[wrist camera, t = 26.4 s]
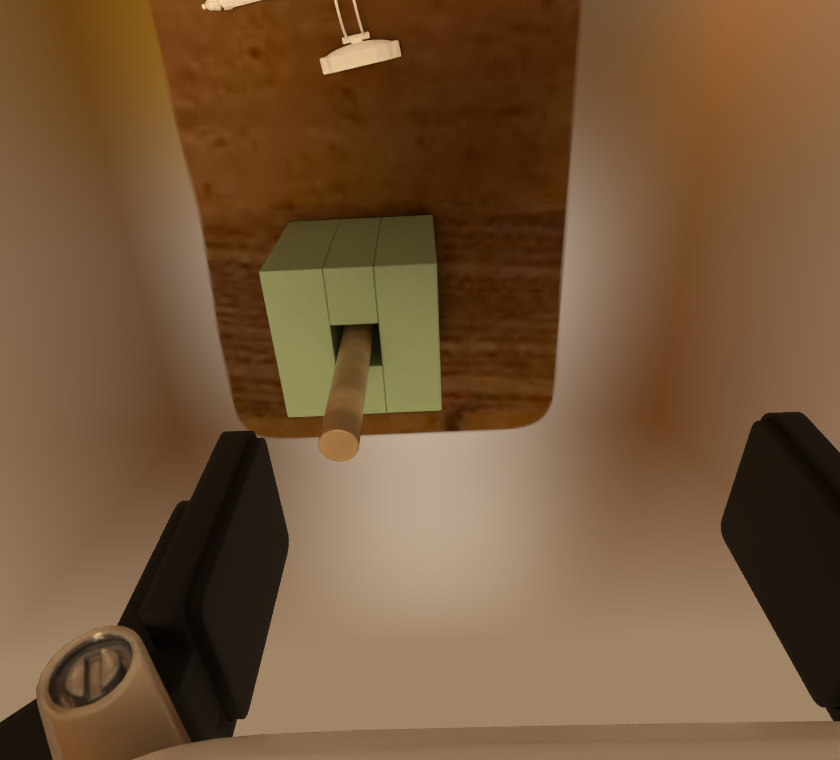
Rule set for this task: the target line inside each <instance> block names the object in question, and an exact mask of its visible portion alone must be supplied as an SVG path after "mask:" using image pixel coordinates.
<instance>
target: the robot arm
mask: <svg viewBox="0 0 840 760" xmlns="http://www.w3.org/2000/svg"><path fill="white" fill-rule="evenodd" d="M721 532H722V536H723V539H724V541H725V543H726V544H727V546H728V548H729V550H730V552H731V553H732V555H733V557H734V559H735V561H736V562H737V564H738V566H739V568H740V570H741V571H742V573H743V575H744V577H745V579H746V580H747V582H748V584H749V586H750V588H751V589H752V591H753V593H754V595H755V597H756V598H757V600H758V602H759V604H760V606H761V607H762V609H763V611H764V613H765V614H766V616H767V618H768V620H769V621H770V623H771V625H772V627H773V629H774V631H775V632H776V634H777V636H778V637H779V639H780V641H781V643H782V645H783V647H784V649H785V650H786V652H787V654H788V656H789V657H790V659H791V661H792V663H793V665H794V666H795V668H796V670H797V672H798V674H799V675H800V677H801V679H802V681H803V683H804V684H805V686H806V688H807V690H808V692H809V693H810V695H811V697H812V698H813V700H814V701H815V702H816V703H817V704H818V705H819V706H821V707H826V709H827V711H828V712H829V714H830V716H831V718H832V719H833V721H822V722H821V721H820V722H748V723H686V724H685V723H680V724H679V723H678V724H677V723H676V724H624V725H623V724H622V725H572V726H571V725H570V726H523V727H522V726H520V727H478V728H477V727H475V728H436V729H396V730H355V731H354V730H353V731H331V732H307V733H283V734H261V735H250V736H239V737H233V733H234V729H235V725H236V721H237V719H244V718H245V717H246V716H247V714H248V711H249V708H250V704H251V700H252V696H253V691H254V687H255V683H256V679H257V675H258V671H259V667H260V663H261V659H262V655H263V651H264V647H265V643H266V638H267V635H268V630H269V626H270V622H271V618H272V614H273V610H274V606H275V602H276V598H277V594H278V590H279V586H280V582H281V577H282V573H283V569H284V565H285V561H286V557H287V553H288V545H289V538H288V532H287V527H286V523H285V518H284V514H283V510H282V506H281V502H280V498H279V494H278V489H277V486H276V481H275V477H274V473H273V468H272V465H271V460H270V456H269V452H268V448H267V444H266V440H265V439H264V438H257V437H256V434H255V433H254V431H230V432H223V433H222V434H221V435H220V437H219V440H218V442H217V444H216V446H215V448H214V450H213V452H212V454H211V456H210V459H209V461H208V463H207V465H206V467H205V469H204V472H203V474H202V476H201V478H200V480H199V482H198V484H197V487H196V489H195V491H194V493H193V495H192V497H191V500H189V501H182V502H180V503H178V504H177V506H176V507H175V509H174V511H173V513H172V515H171V517H170V519H169V521H168V523H167V525H166V527H165V529H164V531H163V533H162V535H161V537H160V540H159V541H158V543H157V545H156V547H155V549H154V551H153V553H152V555H151V558H150V559H149V562H148V564H147V566H146V568H145V570H144V572H143V574H142V576H141V578H140V580H139V582H138V584H137V586H136V588H135V590H134V592H133V594H132V596H131V598H130V600H129V603H128V604H127V607H126V609H125V610H124V613H123V615H122V617H121V619H120V621H119V623H118V625H117V626H114V625H109V626H104V627H100V628H95V629H92V630H90V631H88V632H86V633H84V634H81V635H80V636H77V637H76V638H75V639H73V640H72V641H70V642H69V643H67V644H66V645H64V646H63V647H62V648H61V649H60V650H59V651H58V652H57V653H56V654H55V655H54V656H53V657H52V658H51V659H50V661H49V662H48V664H47V665H46V667H45V669H44V670H43V672H42V673H41V675H40V679H39V681H38V684H37V688H36V697H37V698H36V699H35V700H33V701H32V702H30V703H29V704H27V705H26V706H24V707H23V708H21V709H20V710H18V711H17V712H15V713H14V714H12V715H11V716H9V717H8V718H6V719H5V720H3V721H2V722H0V760H840V453H839V451H838V450H837V449H836V448H835V447H834V446H833V445H832V444H831V443H830V442H829V441H828V439H827V438H826V437H825V436H824V435H823V434H822V433H821V432H820V431H819V430H818V429H817V428H816V426H815V425H814V424H813V423H812V422H811V421H810V420H809V419H808V418H807V417H806V416H805V415H804V414H802V413H800V412H783V413H767V414H765V415H764V416H763V417H762V418H761V420H760V421H757V422H755V423H754V424H753V426H752V428H751V431H750V434H749V437H748V440H747V443H746V446H745V449H744V452H743V456H742V458H741V462H740V465H739V468H738V471H737V474H736V477H735V480H734V483H733V486H732V489H731V493H730V496H729V499H728V502H727V505H726V508H725V511H724V514H723V517H722V521H721Z"/></svg>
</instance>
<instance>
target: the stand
mask: <svg viewBox="0 0 840 760" xmlns="http://www.w3.org/2000/svg"><path fill="white" fill-rule="evenodd" d="M259 275H260V280H261V285H262V290H263V295H264V300H265V305H266V310H267V315H268V320H269V325H270V330H271V335H272V340H273V345H274V350H275V355H276V360H277V365H278V370H279V375H280V380H281V385H282V390H283V395H284V399H285V404H286V409H287V414H288V417H304V416H324V414H325V410H326V405H327V401H328V396H329V392H330V387H331V383H332V379H333V374H334V370H335V365H336V361H337V356H338V352H339V347H340V343H341V338H342V334H343V330H344V325H352V324H373V323H375V325H374V333H373V341H372V348H371V356H370V364H369V372H368V380H367V388H366V396H365V403H364V411H363V414H369V413H386V412H388V413H389V412H412V411H435V410H441V409H442V401H441V370H440V340H439V310H438V280H437V259H436V249H435V238H434V227H433V217H432V215H419V216H399V217H382V218H380V217H377V218H357V219H341V220H340V219H334V220H314V221H293V222H289V223H288V225H287V227H286V228H285V230H284V231H283V233H282V235H281V236H280V238H279V240H278V241H277V243H276V245H275V246H274V248H273V250H272V251H271V253H270V255H269V256H268V258H267V259H266V261H265V263H264V264H263V266H262V268H261V269H260V271H259Z"/></svg>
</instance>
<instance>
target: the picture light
mask: <svg viewBox="0 0 840 760" xmlns="http://www.w3.org/2000/svg"><path fill="white" fill-rule="evenodd" d="M257 1H261V0H207V1H206V2H205V4H202V8H203V9H206V8H207V9H208V10H212V11H214V10H217V11H220V10H222V6H223V8H224V10H230V9H233V7H237V6H241V5H245V4H249V3H253V2H257ZM334 2H335V6H336V10H337V14H338V18H339V21H340V25H341V28H342V31H343V34H344V36H345V37H343V38H342V42H343V44H348V43H352V44H350V45H347V46H344V47H342V48H339V49H337V50H335V51H333V52H332V53H330V54H329V55H327V56H326V57H323V58H320V63H321V67H322V71H323V74H324V75H325V74H329V73H335V72H339V71H343V70H347V69H351V68H355V67H360V66H364V65H368V64H372V63H376V62H381V61H385V60H390V59H393V58H397V57H400V56H401V51H400V46H399V41H398V40H394V41H389V40H368V41H362V40H364V39H368V38H370V34H369V32H368V31H367V32H364V31H363V28H362V25H361V21H360V18H359V14H358V10H357V5H356V1H355V0H353V4H354V8H355V12H356V16H357V20H358V24H359V27H360V30H361V34H360V33H359V34H355V35H351V36H347V34H346V32H345V29H344V26H343V22H342V19H341V15H340V11H339V7H338V3H337V0H334Z"/></svg>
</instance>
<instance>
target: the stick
mask: <svg viewBox="0 0 840 760" xmlns="http://www.w3.org/2000/svg"><path fill="white" fill-rule="evenodd" d="M374 325H375V323H373V324H352V325H344V330H343V334H342V338H341V343H340V347H339V352H338V356H337V361H336V365H335V370H334V374H333V379H332V383H331V387H330V392H329V396H328V401H327V405H326V410H325V414H324V419H323V423H322V428H321V432H320V436H319V442H318V447H319V449H320V451H321V453H322V454H323V455H324V456H325V457H326V458H328V459H330V460H333V461H346V460H349V459H351V458H353V457H354V456H355V455H356V453H357V452H358V449H359V443H360V435H361V427H362V419H363V411H364V403H365V396H366V388H367V380H368V372H369V364H370V356H371V348H372V341H373V333H374Z"/></svg>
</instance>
